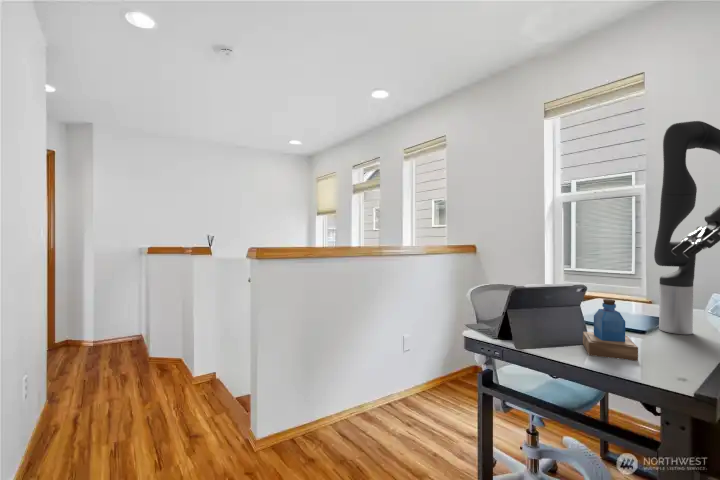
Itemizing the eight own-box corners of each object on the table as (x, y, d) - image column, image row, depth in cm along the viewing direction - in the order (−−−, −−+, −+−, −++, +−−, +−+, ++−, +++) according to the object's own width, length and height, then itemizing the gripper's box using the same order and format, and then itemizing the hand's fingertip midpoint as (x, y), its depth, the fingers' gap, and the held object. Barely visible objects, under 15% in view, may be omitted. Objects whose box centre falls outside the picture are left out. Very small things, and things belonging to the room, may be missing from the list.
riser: (582, 343, 117) (582, 330, 117) (626, 347, 112) (626, 334, 112) (589, 355, 106) (589, 341, 106) (638, 360, 101) (638, 346, 101)
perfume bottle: (625, 341, 105) (625, 302, 105) (601, 340, 106) (602, 301, 106) (615, 335, 111) (615, 298, 111) (593, 334, 112) (593, 297, 112)
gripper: (708, 206, 105) (659, 244, 110) (734, 203, 92) (678, 246, 97) (731, 223, 102) (681, 261, 108) (762, 223, 90) (702, 266, 95)
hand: (679, 254), depth 102 cm, fingers open, 8 cm apart
